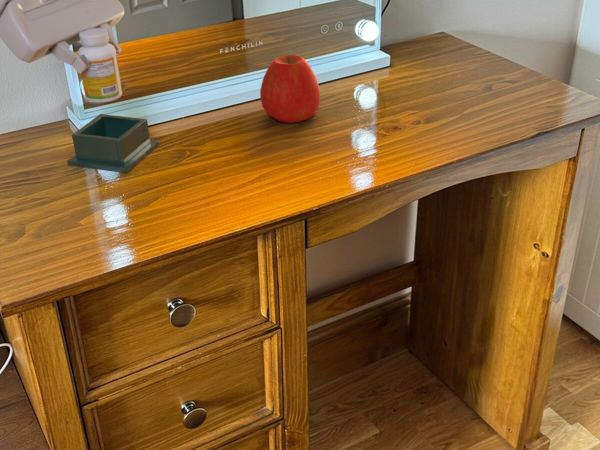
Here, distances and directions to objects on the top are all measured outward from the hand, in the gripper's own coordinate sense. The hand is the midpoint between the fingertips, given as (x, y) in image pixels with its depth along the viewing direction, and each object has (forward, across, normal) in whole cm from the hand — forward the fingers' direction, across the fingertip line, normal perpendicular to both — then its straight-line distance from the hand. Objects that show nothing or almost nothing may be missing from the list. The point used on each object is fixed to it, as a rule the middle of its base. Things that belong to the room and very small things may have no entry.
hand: (101, 62), depth 110 cm
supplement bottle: (+4, 0, -4) cm, 6 cm away
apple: (+23, -27, 0) cm, 35 cm away
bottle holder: (+10, -2, -13) cm, 16 cm away
